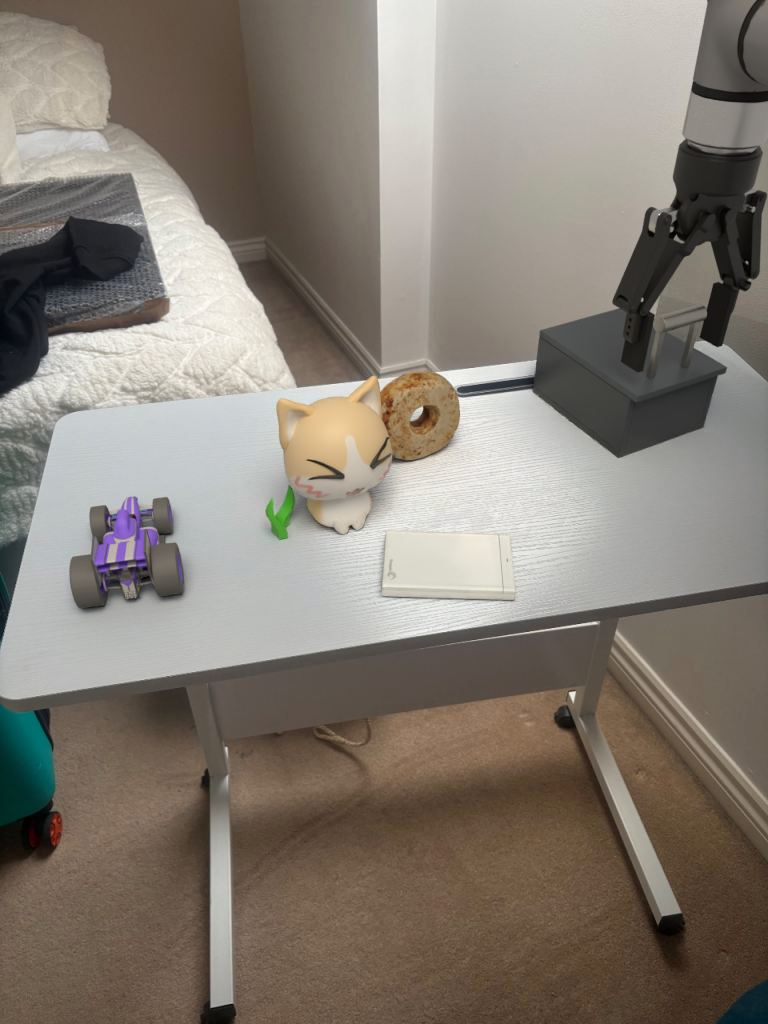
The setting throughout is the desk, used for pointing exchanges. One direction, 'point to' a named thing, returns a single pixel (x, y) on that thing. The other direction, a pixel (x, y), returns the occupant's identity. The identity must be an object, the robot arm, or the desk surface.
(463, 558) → the hard drive
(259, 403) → the desk surface
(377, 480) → the kitten
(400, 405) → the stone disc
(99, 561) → the toy race car
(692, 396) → the black box
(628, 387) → the box lid
